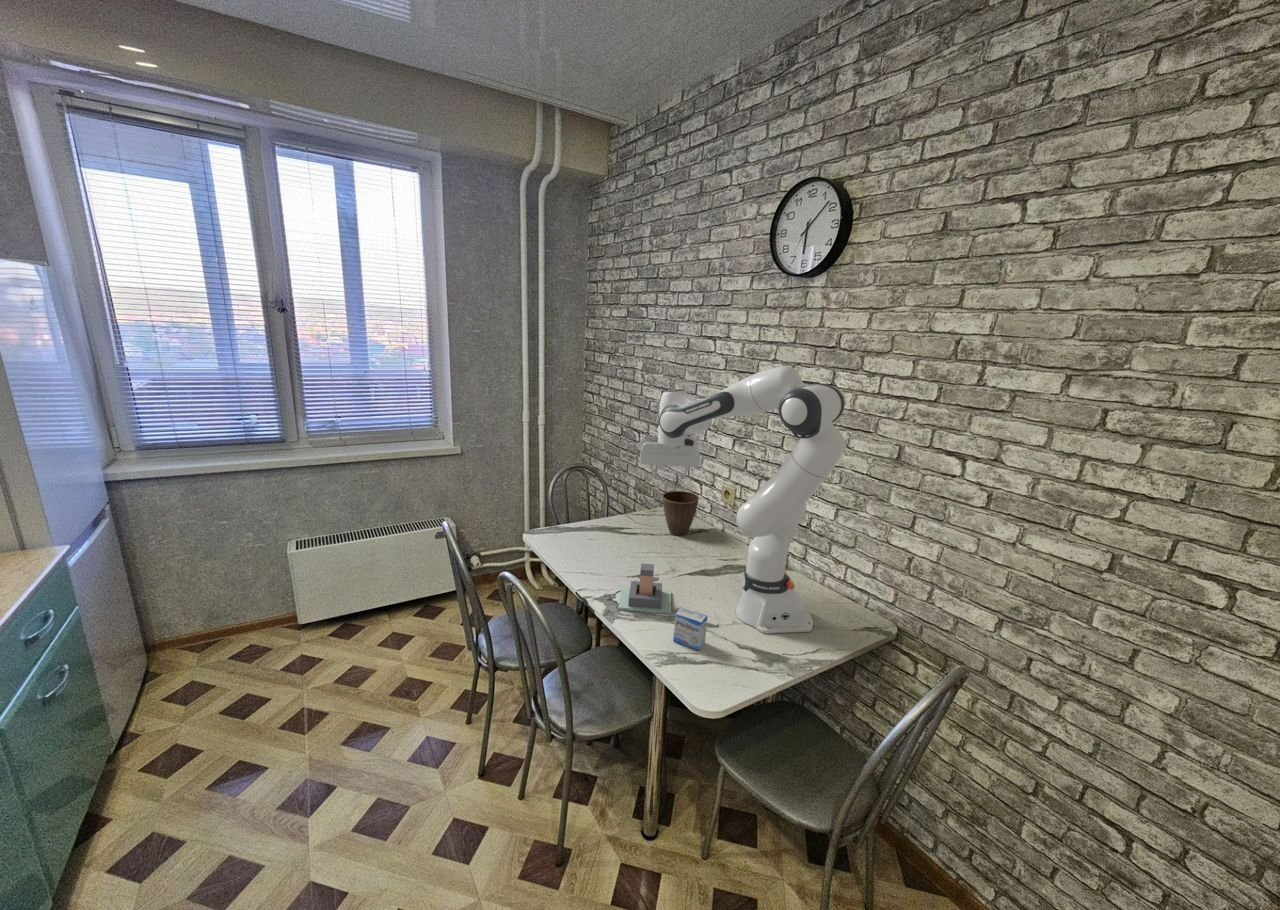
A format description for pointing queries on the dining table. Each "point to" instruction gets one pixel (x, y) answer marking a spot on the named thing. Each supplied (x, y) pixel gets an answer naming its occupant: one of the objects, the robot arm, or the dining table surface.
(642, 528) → the dining table surface
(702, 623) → the medicine box
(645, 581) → the plug
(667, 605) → the board
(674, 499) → the plant pot
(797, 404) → the robot arm
